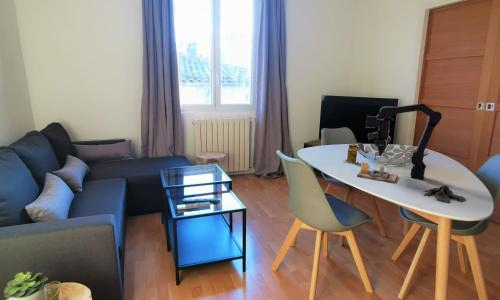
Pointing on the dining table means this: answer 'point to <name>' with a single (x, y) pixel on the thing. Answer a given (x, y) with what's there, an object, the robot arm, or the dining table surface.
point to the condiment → (351, 154)
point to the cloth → (443, 194)
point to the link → (365, 170)
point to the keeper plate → (390, 177)
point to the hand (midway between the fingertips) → (381, 154)
